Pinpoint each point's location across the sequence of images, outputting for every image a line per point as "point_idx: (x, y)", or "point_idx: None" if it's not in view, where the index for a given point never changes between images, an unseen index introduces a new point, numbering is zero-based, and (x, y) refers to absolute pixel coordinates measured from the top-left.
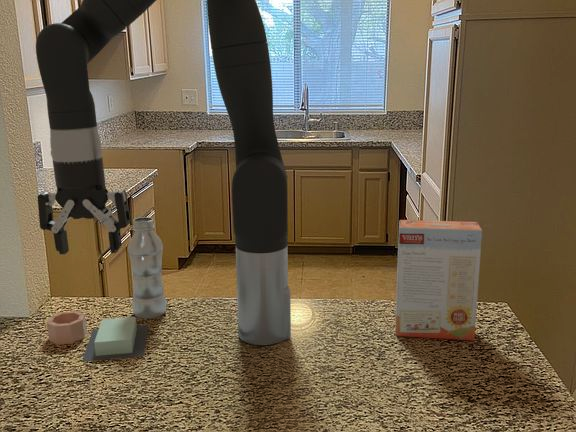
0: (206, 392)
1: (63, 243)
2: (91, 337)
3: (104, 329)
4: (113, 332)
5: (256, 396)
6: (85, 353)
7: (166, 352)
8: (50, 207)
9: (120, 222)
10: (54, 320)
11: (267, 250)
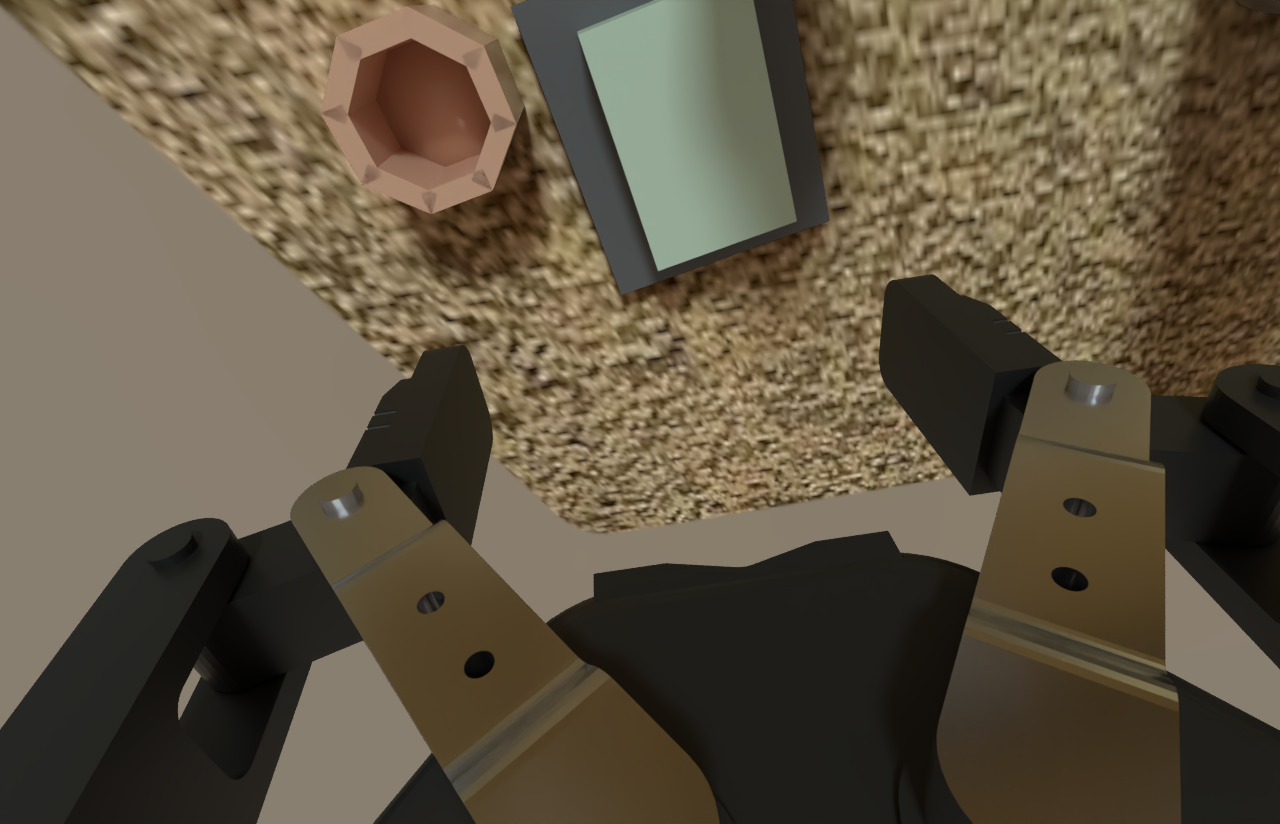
0: None
1: (476, 472)
2: (554, 102)
3: (646, 151)
4: (699, 173)
5: (1165, 341)
6: (604, 240)
7: (891, 132)
8: (130, 819)
9: (1201, 561)
10: (354, 115)
11: None
